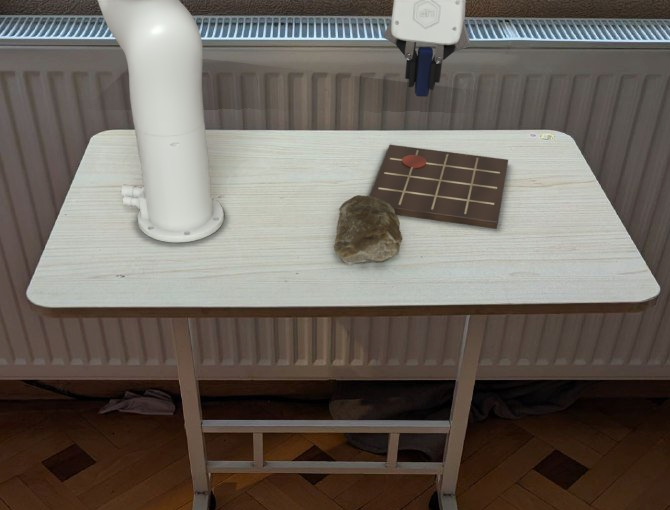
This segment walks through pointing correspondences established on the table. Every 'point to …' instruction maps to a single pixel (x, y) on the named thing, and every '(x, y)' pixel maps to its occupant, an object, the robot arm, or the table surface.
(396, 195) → the board
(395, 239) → the stone
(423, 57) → the eraser
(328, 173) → the table surface
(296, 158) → the table surface
